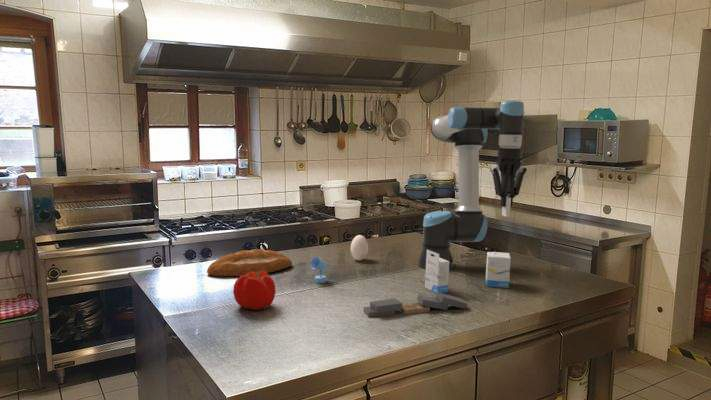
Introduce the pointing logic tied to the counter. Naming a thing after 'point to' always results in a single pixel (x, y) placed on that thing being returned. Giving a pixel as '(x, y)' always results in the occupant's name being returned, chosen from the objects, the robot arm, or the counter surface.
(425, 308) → the walnut domino
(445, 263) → the ink box
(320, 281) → the spotlight
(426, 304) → the domino
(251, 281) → the tomato
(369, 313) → the domino
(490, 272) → the ink box
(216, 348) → the counter surface
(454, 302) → the domino
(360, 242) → the egg
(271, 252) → the bread
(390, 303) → the domino
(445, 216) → the robot arm
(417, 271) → the counter surface
